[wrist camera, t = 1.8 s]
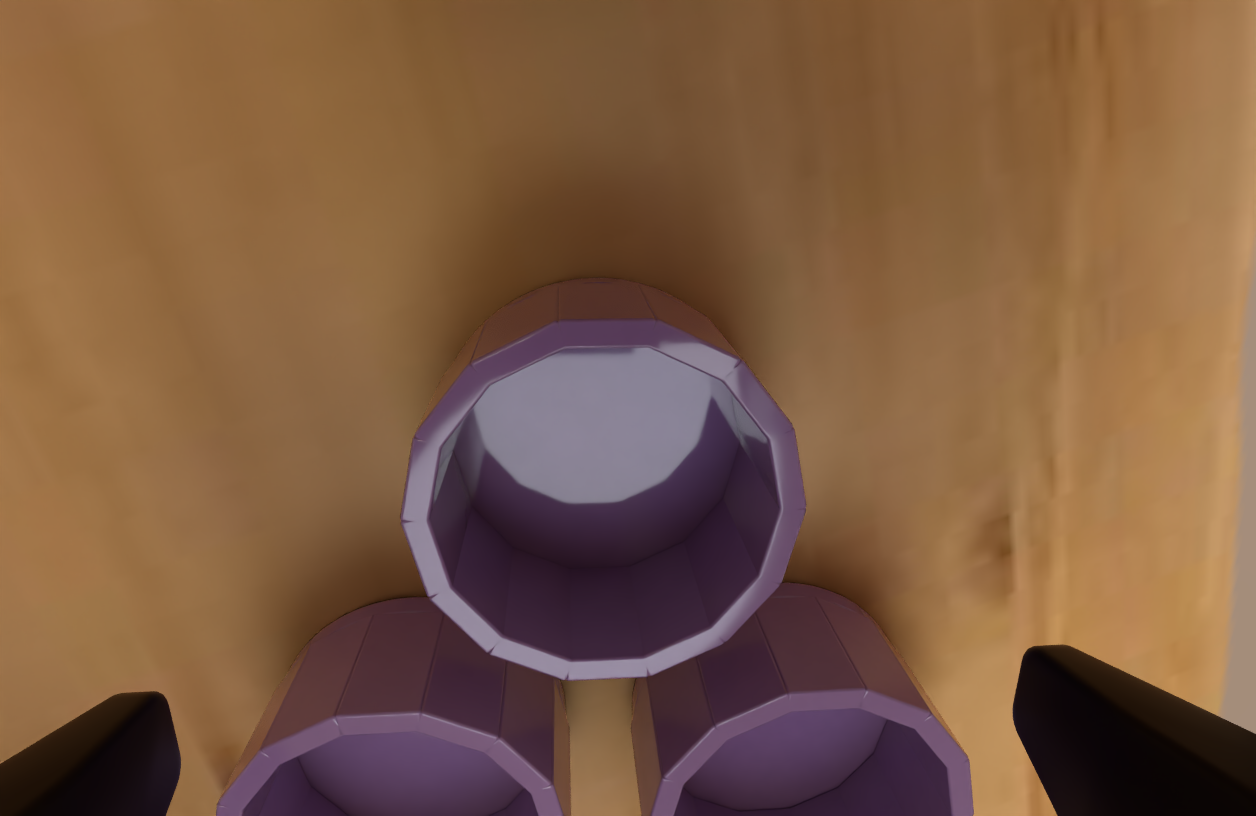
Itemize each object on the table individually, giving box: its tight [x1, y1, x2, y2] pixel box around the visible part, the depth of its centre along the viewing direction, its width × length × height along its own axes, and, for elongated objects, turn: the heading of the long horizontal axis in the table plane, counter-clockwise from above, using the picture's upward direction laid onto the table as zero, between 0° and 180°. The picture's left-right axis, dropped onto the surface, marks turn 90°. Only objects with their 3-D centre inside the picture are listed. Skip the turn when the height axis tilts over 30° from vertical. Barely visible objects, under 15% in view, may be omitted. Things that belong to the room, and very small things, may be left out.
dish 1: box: [216, 597, 571, 816], centre depth 16 cm, size 6×6×4 cm
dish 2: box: [400, 278, 806, 681], centre depth 14 cm, size 6×6×4 cm
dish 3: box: [631, 583, 974, 816], centre depth 16 cm, size 6×6×4 cm
